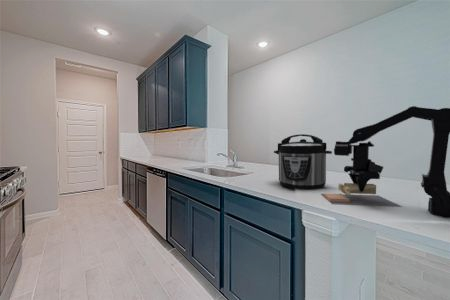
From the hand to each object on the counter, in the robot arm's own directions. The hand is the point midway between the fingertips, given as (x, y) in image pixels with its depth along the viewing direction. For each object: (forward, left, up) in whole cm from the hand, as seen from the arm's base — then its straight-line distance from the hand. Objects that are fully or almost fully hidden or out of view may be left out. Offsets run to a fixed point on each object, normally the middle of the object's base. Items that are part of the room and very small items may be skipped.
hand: (359, 190), depth 90 cm
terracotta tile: (0, +6, -4) cm, 7 cm away
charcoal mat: (+1, +1, -6) cm, 6 cm away
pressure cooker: (+29, +19, -6) cm, 35 cm away
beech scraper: (0, 0, -1) cm, 1 cm away
